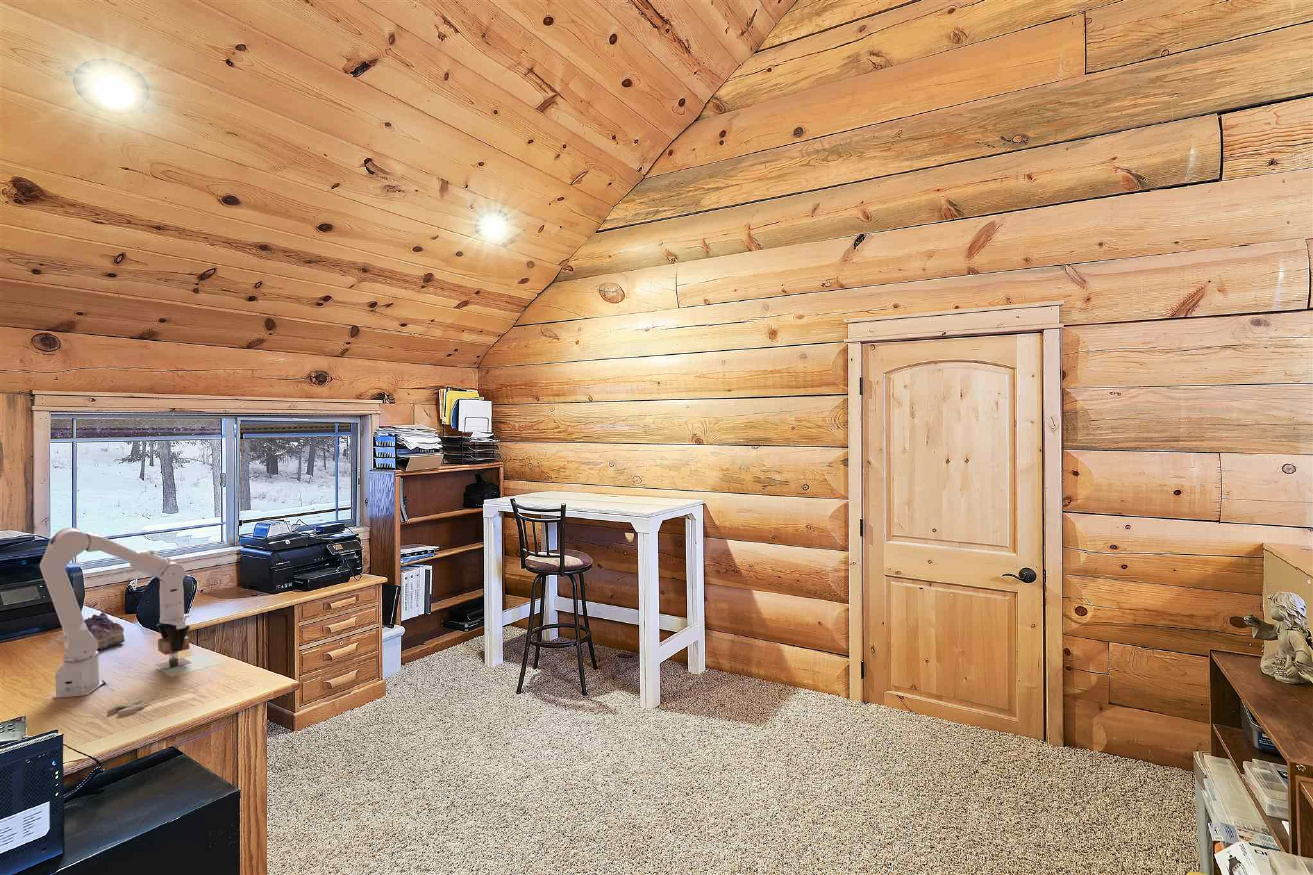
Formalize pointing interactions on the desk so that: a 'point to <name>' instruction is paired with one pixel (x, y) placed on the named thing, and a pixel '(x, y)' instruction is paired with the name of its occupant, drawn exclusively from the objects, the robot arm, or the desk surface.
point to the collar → (165, 645)
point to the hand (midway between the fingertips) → (173, 648)
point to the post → (173, 662)
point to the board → (190, 665)
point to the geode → (105, 631)
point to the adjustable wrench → (131, 708)
